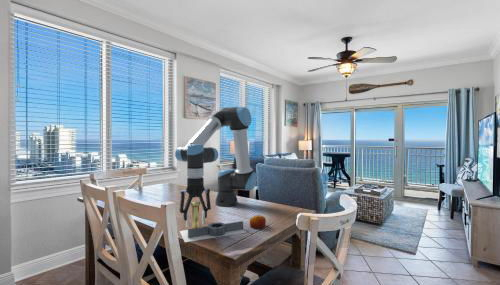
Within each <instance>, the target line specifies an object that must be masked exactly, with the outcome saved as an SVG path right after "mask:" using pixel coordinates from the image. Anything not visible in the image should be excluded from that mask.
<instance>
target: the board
mask: <svg viewBox="0 0 500 285" xmlns="http://www.w3.org/2000/svg"><path fill="white" fill-rule="evenodd" d="M179 233H180V235H181V237H182V239H183V241H184V243H191V242H196V241H203V240H207V239H214V238H220V237H226V236H233V235H237V234H244V233H245V234H246V233H247V231H246V230H245V229H243V230H236V231H230V232H226V233H225V234H224V235H222V236H217V237H215V236H209V235H205V236H198V237H192V238H188V229H184V230H179Z"/></svg>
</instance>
